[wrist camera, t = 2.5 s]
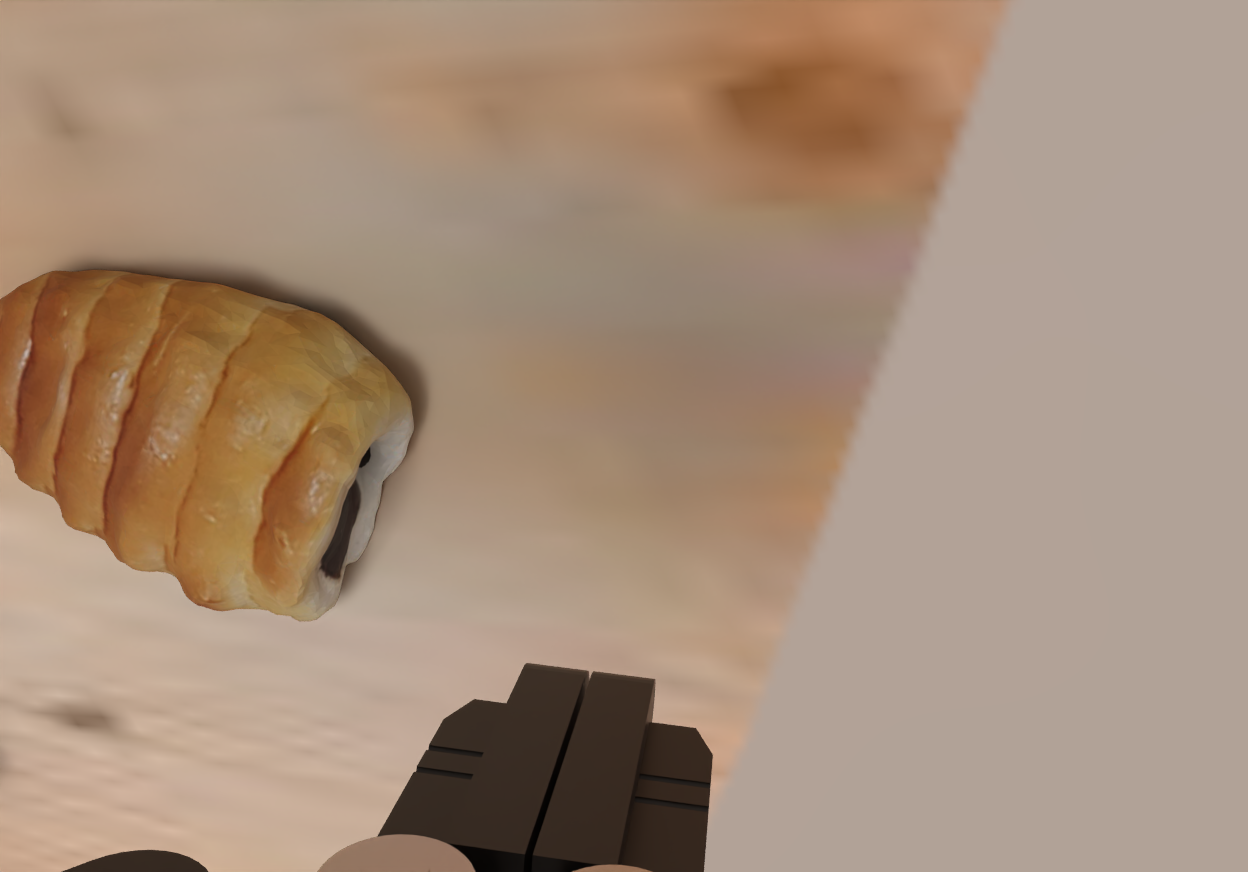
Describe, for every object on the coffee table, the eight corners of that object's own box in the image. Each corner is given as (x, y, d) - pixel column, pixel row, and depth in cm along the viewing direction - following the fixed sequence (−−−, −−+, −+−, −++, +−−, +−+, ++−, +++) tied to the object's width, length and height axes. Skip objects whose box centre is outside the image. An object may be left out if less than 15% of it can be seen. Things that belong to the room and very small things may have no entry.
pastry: (-11, 460, 26) (-137, 510, 22) (56, 188, 24) (-70, 193, 21) (356, 614, 26) (290, 690, 22) (450, 353, 24) (395, 388, 20)
